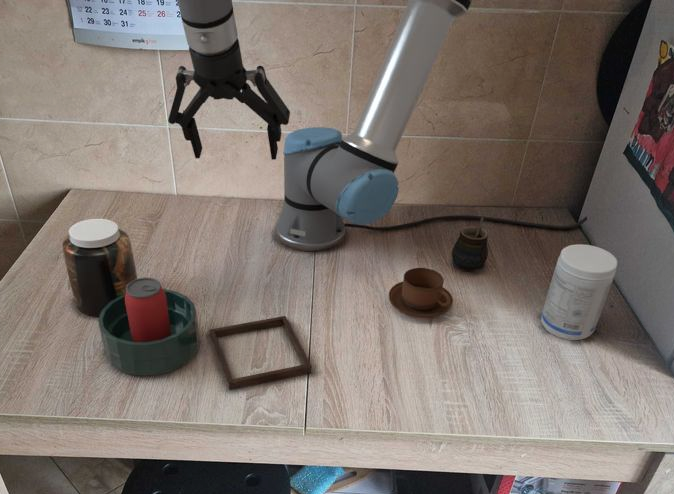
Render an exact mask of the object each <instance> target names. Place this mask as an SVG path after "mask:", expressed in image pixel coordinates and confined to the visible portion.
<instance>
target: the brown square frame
mask: <svg viewBox="0 0 674 494" xmlns="http://www.w3.org/2000/svg"><path fill="white" fill-rule="evenodd" d="M280 326H281V327H283V329H284V331H285V333H286V336H287V337H288V339H289V341H290V343H291V345H292V347H293V349H294V351H295V353H296V355H297V357H298V359H299V361H300V363H301V364H299V365H294V366H291V367H290V366H289V367H285V368H281V369H275V370H270V371H265V372H261V373H255V374H250V375H245V376H240V377H236V378H235V377H234V378H232V374H231V372H230V370H229V367H228V363H227V361H226V358H225V355H224V352H223V350H222V347H221V345H220V342H219V339H218V338H221V337H226V336H233V335H237V334H242V333H248V332H255V331H260V330H265V329H270V328H276V327H280ZM208 331H209V337H210V340H211V343H212V346H213V349H214V351H215V354H216V358H217V360H218V362H219V366H220V369H221V371H222V375H223V377H224V379H225V382H226V385H227V388H228V390H229V391H230V390H235V389H240V388H244V387H250V386H254V385H259V384H264V383H268V382H275V381H279V380H283V379H288V378H294V377H298V376H303V375H308V374H312V371H313V370H312V367H313V366H312V364H311V362H310V360H309V358H308V356H307V354H306V352H305V351H304V349H303V346H302V344H301V343H300V341H299V339H298V336H297V335H296V333H295V331H294V330H293V328H292V325H291V323H290V322H289V319H288V318H287V316H286V315H282V316H277V317H271V318H266V319H265V318H264V319H260V320H254V321H249V322H244V323H237V324H232V325H226V326H221V327H216V328H210V329H209V330H208Z"/></svg>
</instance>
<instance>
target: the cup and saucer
mask: <svg viewBox="0 0 674 494" xmlns="http://www.w3.org/2000/svg"><path fill="white" fill-rule="evenodd" d="M402 280H403V281H400V282H397V283H396V284H394V285H393V286H392V287H391V288H390V290H389V292H388V299H389V302H390V304H391V306H392V307H394V309H396V310H397V311H398V312H400V313H402V314H404V315H406V316H408V317H411V318H416V319H433V318H437V317H441V316H443V315H444V314H446V313H448V311H450V309H451V308H452V306H453V303H454V300H453V296H452V293H450V291H449V290H448V289H446V288H445V287H444V282H445V280H444V277H443V275H442V274H441V273H440V272H438V271H437V270H435V269H433V268H432V269H431V268H427V267H413V268H410V269H408V270H407V271H405V272H404V274H403V279H402Z"/></svg>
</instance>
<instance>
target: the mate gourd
mask: <svg viewBox="0 0 674 494" xmlns="http://www.w3.org/2000/svg"><path fill="white" fill-rule="evenodd" d="M480 216H481V220H480V219H479V223H478V226H472V225H471V226H464V227H463V228H461V230H460V231H459V234H458V235H459V237H458V238H457V240H456V242H455V243H454V245H453V247H452V250H451V259H452V262H453V265H454V266H455V267H456V268H457V269H458V270H460V271H462V272H467V273H473V272H476V271H478V270H481V269H483V267H484V266H485V264H486V263H487V261H488V256H489V247H488V239H489V233H488V231H486V230H485V229H484V228H482V225H483V222H484V221H485V220H484V217H486V216H483V215H480Z"/></svg>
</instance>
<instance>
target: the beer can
mask: <svg viewBox="0 0 674 494" xmlns="http://www.w3.org/2000/svg"><path fill="white" fill-rule="evenodd" d="M163 289H164V288H163V286H162V283H161V282H160V280H157V279H156V278H152V277H138V278H137V279H136V280H134V281H132V282H130V283H129V284H128V285H127V287H126V294H125V304H126V310H127V315H128V320H129V325H130V331H131V336H132V341H133V342H150V341H156V340H161V339H164V338H166V337H169V336H171V329H170V322H169V315H168V308H167V301H166V295H165V292H164V290H163Z"/></svg>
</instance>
